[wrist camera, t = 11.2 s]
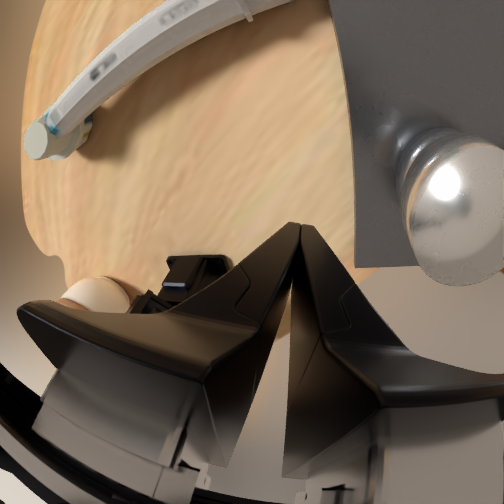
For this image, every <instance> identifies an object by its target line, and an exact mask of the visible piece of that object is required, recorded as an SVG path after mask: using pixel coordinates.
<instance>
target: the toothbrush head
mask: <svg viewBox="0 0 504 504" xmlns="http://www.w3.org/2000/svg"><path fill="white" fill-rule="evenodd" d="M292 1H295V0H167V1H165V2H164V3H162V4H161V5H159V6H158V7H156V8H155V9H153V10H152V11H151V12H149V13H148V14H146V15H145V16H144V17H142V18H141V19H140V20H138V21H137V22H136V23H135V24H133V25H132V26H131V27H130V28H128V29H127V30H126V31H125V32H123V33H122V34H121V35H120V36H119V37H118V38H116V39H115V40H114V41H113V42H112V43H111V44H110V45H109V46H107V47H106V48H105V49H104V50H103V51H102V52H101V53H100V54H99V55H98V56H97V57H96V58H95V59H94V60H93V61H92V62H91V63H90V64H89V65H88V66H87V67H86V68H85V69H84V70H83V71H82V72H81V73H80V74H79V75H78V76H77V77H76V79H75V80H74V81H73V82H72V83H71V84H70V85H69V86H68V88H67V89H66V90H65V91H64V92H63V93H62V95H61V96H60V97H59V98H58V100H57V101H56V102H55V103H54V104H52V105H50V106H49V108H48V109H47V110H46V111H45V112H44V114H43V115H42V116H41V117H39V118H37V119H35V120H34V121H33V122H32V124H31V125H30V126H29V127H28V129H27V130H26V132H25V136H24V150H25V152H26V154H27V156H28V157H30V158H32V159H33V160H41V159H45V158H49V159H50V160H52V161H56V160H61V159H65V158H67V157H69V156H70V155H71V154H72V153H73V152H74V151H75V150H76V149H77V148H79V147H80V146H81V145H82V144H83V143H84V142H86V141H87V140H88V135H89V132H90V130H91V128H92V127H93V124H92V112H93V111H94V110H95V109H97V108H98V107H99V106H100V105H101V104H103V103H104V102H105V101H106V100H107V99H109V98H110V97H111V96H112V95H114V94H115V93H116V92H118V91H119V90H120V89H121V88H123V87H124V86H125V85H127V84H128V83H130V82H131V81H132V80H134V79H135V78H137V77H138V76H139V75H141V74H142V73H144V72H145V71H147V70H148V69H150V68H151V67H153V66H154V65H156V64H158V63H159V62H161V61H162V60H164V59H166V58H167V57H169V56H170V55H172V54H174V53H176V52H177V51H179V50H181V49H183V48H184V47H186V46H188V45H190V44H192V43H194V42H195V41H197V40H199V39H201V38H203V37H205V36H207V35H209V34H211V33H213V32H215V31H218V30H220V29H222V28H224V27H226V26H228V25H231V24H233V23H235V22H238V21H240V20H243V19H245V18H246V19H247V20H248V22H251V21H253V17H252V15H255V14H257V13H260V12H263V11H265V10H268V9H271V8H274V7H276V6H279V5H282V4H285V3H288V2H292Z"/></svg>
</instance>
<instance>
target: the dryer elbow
mask: <svg viewBox="0 0 504 504" xmlns="http://www.w3.org/2000/svg"><path fill="white" fill-rule="evenodd" d="M400 214H401V220H402V223H403V226H404V229H405V231H406V234H407V236H408V238H409V241H410V244H411V246H412V249H413V251H414V254H415V257H416V259H417V261H418V264H419V265H420V267H421V268H422V270H423V271H424V272H425V273H426V274H427V275H428V276H429V277H431V278H432V279H433V280H435V281H437V282H439V283H442V284H445V285H450V286H466V285H472V284H475V283H478V282H481V281H483V280H485V279H487V278H489V277H491V276H493V275H494V274H496V273H497V272H499V271H500V270H501V269H502V268H503V267H504V150H503V149H501V148H499V147H498V146H496V145H495V144H493V143H492V142H490V141H488V140H487V139H485V138H483V137H481V136H479V135H476V134H473V133H467V132H456V133H451V134H447V135H445V136H442V137H440V138H438V139H436V140H435V141H433V142H432V143H430V144H429V145H428V146H426V147H425V148H424V149H423V150H422V151H421V152H420V153H419V155H418V156H417V157H416V158H415V160H414V161H413V163H412V164H411V166H410V168H409V170H408V172H407V174H406V176H405V179H404V182H403V185H402V190H401V195H400Z"/></svg>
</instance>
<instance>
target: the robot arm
mask: <svg viewBox="0 0 504 504" xmlns="http://www.w3.org/2000/svg"><path fill="white" fill-rule="evenodd" d="M220 260H221V261H220ZM166 262H167V264H168V267H169V269H170V271H169V273H168V274H167V276H166V278H165V279H164V281H163V283H162V286H163V287H162V289H161V290H160V292H159V294H158V295H157V296H156V295H155V294H153V292H152V291H150V290H149V289H148V291H147V292H146V294H145V295H143V294H142V296H138V295H137V297H136V298H135V300H134V301H133V303H132V304H131V306H130V307H129V309H128V310H127V311H126V312H125V313H107V312H92V311H84V310H78V309H74V308H70V307H67V306H64V305H62V304H60V303H57V302H54V301H51V300H37V301H31V302H28V303H26V304H23V305H22V306H20V307H19V308H18V309H17V316H18V319H19V321H20V323H21V324H22V326H23V327H24V329H25V330H26V332H27V333H28V334H29V335H30V337H31V338H32V339H33V341H34V342H35V343H36V345H37V346H38V347H39V348H40V350H41V351H42V352H43V353H44V355H45V356H46V357H47V358H48V359H49V360H50V361H51V363H52V364H53V365H54V366H55V367H56V368H57V370H56V372H55V373H54V375H53V377H52V379H51V380H50V382H49V384H48V385H47V387H46V389H45V391H44V393H43V394H42V396H41V397H40V396H39V395H37V394H36V393H35V392H33V391H32V390H31V389H29V388H28V387H27V386H26V385H24V384H23V383H22V382H21V381H19V380H18V379H17V378H16V377H14V376H13V375H12V374H11V373H10V372H9V371H8V370H7V369H6V368H5V367H4V366H3V365H2V364H1V363H0V468H1V469H3V470H6V471H8V472H10V473H13V474H14V475H15V476H16V477H17V478H18V479H19V480H20V481H21V482H22V483H23V484H25V485H26V486H27V487H28V488H29V489H30V490H31V491H33V492H34V493H35V494H36V495H37V496H39V497H40V498H41V499H42V500H44V501H45V502H46V503H47V504H282V503H273V502H264V501H258V500H252V499H246V498H239V497H235V496H230V495H225V494H221V493H217V492H213V491H209V490H208V489H209V485H210V482H211V478H210V477H209V476H208V475H207V474H206V473H207V469H208V466H209V464H212V465H216V466H220V467H224V468H226V467H227V466H228V463H229V460H230V458H231V456H232V453H233V451H234V448H235V446H236V443H237V441H238V438H239V436H240V433H241V431H242V428H243V426H244V423H245V420H246V418H247V415H248V413H249V410H250V407H251V404H252V402H253V399H254V396H255V394H256V391H257V388H258V385H259V383H260V380H261V377H262V374H263V371H264V369H265V365H266V362H267V360H268V357H269V354H270V351H271V348H272V345H273V342H274V339H275V336H276V333H277V330H278V327H279V324H280V321H281V318H282V315H283V312H284V309H285V305H286V302H287V299H288V296H289V293H290V289H291V284H292V289H291V330H290V360H289V382H288V400H287V416H286V430H285V443H284V444H285V445H284V456H283V468H282V477H283V478H292V479H305V480H307V483H306V489H305V491H304V492H297V494H296V498H295V503H294V504H504V435H503V427H502V421H503V420H504V374H486V373H480V372H475V371H471V370H467V369H463V368H460V367H455V366H452V365H448V364H445V363H441V362H438V361H434V360H431V359H427V358H424V357H421V356H418V355H416V354H414V353H413V352H412V351H410V350H409V349H408V348H407V347H406V346H405V345H404V344H403V343H402V341H401V340H400V339H399V338H398V337H397V335H396V334H395V333H394V332H393V330H392V329H391V328H390V327H389V326H388V324H387V323H386V322H385V321H384V320H383V319H382V317H381V316H380V315H379V314H378V312H377V311H376V310H375V309H374V307H373V306H372V305H371V304H370V303H369V301H368V300H367V298H366V297H365V296H364V294H363V293H362V292H361V290H360V289H359V287H358V286H357V284H355V282H354V280H353V279H352V277H351V276H350V275H349V273H348V272H347V270H346V269H345V267H344V266H343V265H342V263H341V262H340V261H339V259H338V258H337V256H336V255H335V254H334V252H333V251H332V250H331V248H330V247H329V246H328V244H327V243H326V242H325V240H324V239H323V238H322V236H321V235H320V234H319V232H318V231H317V230H316V228H315V227H314V226H312V225H306V224H302V225H301V224H299V223H294V222H288V223H287V224H286V225H284V226H283V227H282V228H281V229H280V230H278V231H277V232H276V233H275V234H274V235H272V236H271V237H270V238H269V239H267V240H266V241H265V242H264V243H263V244H261V245H260V246H259V247H258V248H257V249H255V250H254V251H253V252H252V253H250V254H249V255H248V256H247V257H246V258H244V259H243V260H242V261H241V262H240V263H238V265H236V266H235V267H233V268H232V269H231V270H230V271H229V268H228V265H227V261H226V259H225V257H224V256H222V255H191V256H169V257H168V258H167V260H166ZM292 279H293V280H292ZM0 504H5V503H4V502H3V501H2V500H0Z"/></svg>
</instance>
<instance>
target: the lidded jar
mask: <svg viewBox="0 0 504 504" xmlns="http://www.w3.org/2000/svg"><path fill="white" fill-rule="evenodd" d="M57 303H60V304H62V305H64V306H67V307H70V308H74V309H78V310H84V311H92V312H107V313H125V312H126V311H127V310H128V309H129V307H130V300H129V297H128V295H127V293H126V292H125V290H124V289H123V288H122V287H121V286H120V285H119V284H118V283H116V282H115V281H113V280H112V279H110V278H108V277H104V276H99V277H88V278H84V279H82V280H80V281H78V282H76V283H75V284H73V285H72V286H71V287H70V288H69V289H68V290H67V291H66V292H65V293H64V294H63V296H62V297H61V298H60V299H59V300H58V301H57Z"/></svg>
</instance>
